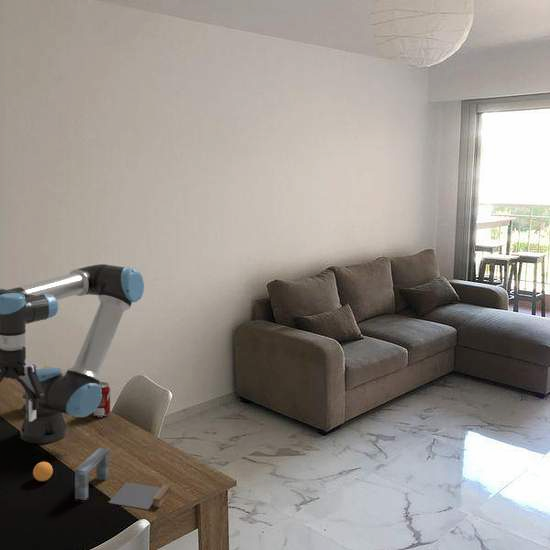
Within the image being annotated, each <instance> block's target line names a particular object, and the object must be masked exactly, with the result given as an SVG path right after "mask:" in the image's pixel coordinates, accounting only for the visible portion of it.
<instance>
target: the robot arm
mask: <svg viewBox="0 0 550 550" xmlns="http://www.w3.org/2000/svg"><path fill="white" fill-rule="evenodd" d="M144 291H145V282H144V277H143V275H142V274H141V272H140V271H139V270H137V269H135V268H131V267H128V266H117V265H111V264H105V263H103V264H102V263H101V264H93V265H88V266H83V267H80V268H76V269H73V270H71V271H70V272H69V273H68V274H64V275H61V276H57V277H53V278H48V279H45V280H41V281H37V282H34V283H30V284H26V285H25V284H24V285H23V286H19V287H14V288H13V287H12V288H10V289H4V288H0V383H2V381H3V380H4V378H5V379H12V380H16V381H17V382H19V383H20V385H21V386H22V388H23V389H24V391H25V392H24V394H25V397H26V399H25V404H26V412H25V416H24V418H23V422H22V425H21V428H20V439H21V440H22V441H24V442H27V443H30V444H49V443H53V442H56V441H59V440H61V439H63V438H65V437H66V436H67V434H68V425H67V423H66V419H65V416H64V414H67V415H68V416H71V417H78V418H85V417H88V416H90V415H92V413H93V412H94V411H95V410H96V409H97V407H98V406H99V404H100V401H101V398H102V394H101V393H102V389H101V387H100V386H99V384H100V382H101V379H100V377H99V375H100V372H101V369H102V366H103V364H104V361H105V359H106V357H107V354H108V352H109V349H110V346H111V344H112V342H113V339H114V338H115V337H114V336H115V334H116V333H117V330H118V327H119V324H120V322H121V319H122V317H123V314H124V312H125V311H127V310H129V309H131V306H132V303H137V302H139V300H141V298H142V297H143V295H144ZM86 295H92V296H97V298H98V300H99V302H100V303H99V305H98V307H97V310H96V312H95V315H94V317H93V320H92V323H91V324H90V327H89V329H88V332H87V334H86V336H85V339H84V341H83V343H82V346H81V348H80V350H79V353H78V356H77V358H76V360H75V362H74V365H73V367H70V368H68V369H67V370H66V371H65V373H66V374H65V376H62V371H61V369H62V368H59V367H53V368H44V367H43V368H39V369H37V366H36V364H32V365H27V364H26V358H27V357H26V356H27V354H26V353H27V350H26V342H27V340H26V335H27V334H26V325H27V324H28V325H29V324H30V323H34V322H39V321H45V320H47V319H49V318H53V317H55V316H56V314H57V313H58V311H59V303H58V300H63V299H65V298H69V297H72V296H77V297H81V296H86Z"/></svg>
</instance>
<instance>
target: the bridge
mask: <svg viewBox="0 0 550 550" xmlns="http://www.w3.org/2000/svg"><path fill="white" fill-rule="evenodd" d="M109 465H110V449H109V448H103V447H99V448H97V449H96V450H95V451H94V452H93V453H92V454H91V455H90V456H89V457H87V458H86V459H85V460H84V461H83V462H82V463H81V464H79V466H77V467H76V468H75V470H74V489H75V490H74V500H75V499H81V500H86V499H87V498H88V499H89V475H90V474H89V472H90V471H91V470H92V469H93V468H95V466H96V477H95V478H96V480H98V481H99V480H100V481H108V479H109V478H110V477H109V474H110V473H109V469H110V468H109ZM88 499H87V500H88ZM87 500H86V501H87Z"/></svg>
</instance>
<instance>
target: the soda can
mask: <svg viewBox="0 0 550 550" xmlns="http://www.w3.org/2000/svg"><path fill="white" fill-rule="evenodd" d="M99 386H100V387H101V389H102V393H101V394H102V398H101V401H100V404H99V406H98V407H97V409H96V410H95V411H94V412H93V413H92V414H91V415H92V416H94V417H95V416H97V417H96V418H104V417H103V416H105V417H107V416H109V415H110V413H111V387H110V384H109V382H106V381H100V384H99Z"/></svg>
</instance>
